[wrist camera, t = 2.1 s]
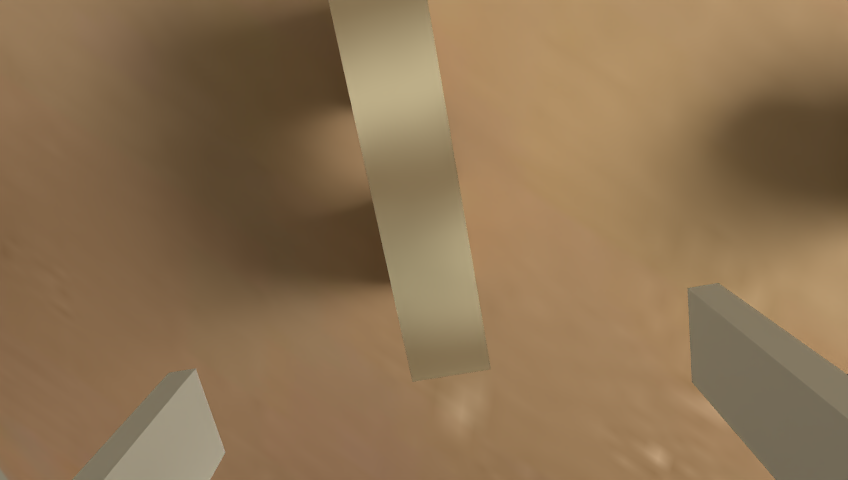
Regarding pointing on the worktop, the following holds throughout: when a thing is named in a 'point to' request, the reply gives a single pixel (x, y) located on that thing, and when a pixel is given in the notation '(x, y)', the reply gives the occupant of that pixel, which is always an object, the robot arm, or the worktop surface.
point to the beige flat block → (413, 181)
